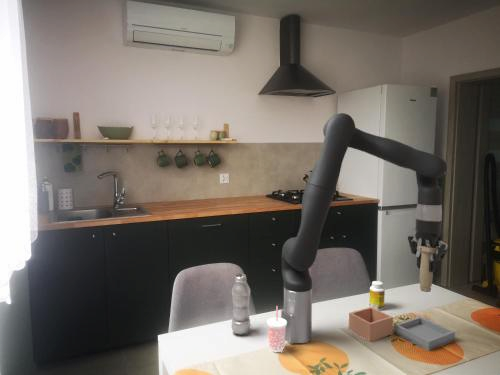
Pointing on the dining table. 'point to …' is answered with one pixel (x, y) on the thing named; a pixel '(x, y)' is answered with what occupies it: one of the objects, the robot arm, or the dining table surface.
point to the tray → (424, 333)
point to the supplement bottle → (377, 295)
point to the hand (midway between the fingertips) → (426, 269)
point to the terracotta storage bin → (370, 323)
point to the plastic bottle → (240, 305)
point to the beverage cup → (276, 332)
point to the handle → (426, 268)
